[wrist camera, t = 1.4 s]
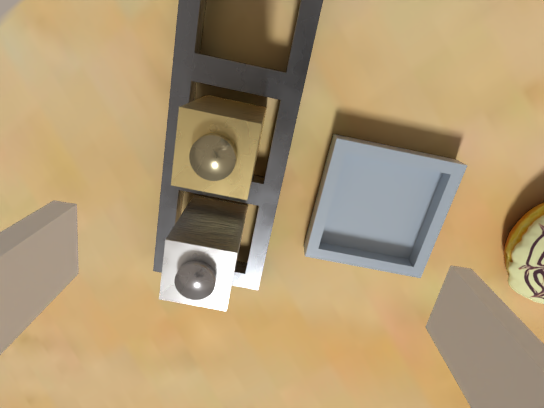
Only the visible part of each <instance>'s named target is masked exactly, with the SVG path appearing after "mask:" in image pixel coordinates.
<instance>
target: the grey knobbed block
mask: <svg viewBox="0 0 544 408" xmlns="http://www.w3.org/2000/svg"><path fill="white" fill-rule="evenodd" d="M247 207H248V205H243V204H238V203H233V202H228V201H223V200H217V199H212V198H207V197H202V196H197V195H194V196H193V198H192V199H191V201H190V202H189V204H188V205H187V207H186V208H185V210H184V212H183V213H182V215H181V216H180V218H179V219H178V221H177V222H176V224H175V225H174V227H173V229H172V230H171V232H170V233H169V235H168V236H167V238H166V239H165V248H164V257H163V267H162V276H161V286H160V295H159V299H160V300H166V301H172V302H177V303H183V304H189V305H194V306H200V307H206V308H211V309H217V310H222V311H226V310H227V306H228V301H229V296H230V292H231V287H232V282H233V277H234V273H235V268H236V263H237V259H238V254H239V249H240V244H241V239H242V233H243V228H244V223H245V218H246V212H247Z"/></svg>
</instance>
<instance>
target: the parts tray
mask: <svg viewBox="0 0 544 408" xmlns="http://www.w3.org/2000/svg"><path fill="white" fill-rule="evenodd" d="M466 167H467V165H465V164H464V163H462V162H460V161H458V160H456V159H452V158H447V157H442V156H437V155H432V154H428V153H423V152H418V151H413V150H408V149H404V148H399V147H394V146H389V145H385V144H380V143H375V142H370V141H365V140H361V139H356V138H351V137H346V136H342V135H337V134H333V137H332V141H331V144H330V148H329V152H328V156H327V160H326V163H325V167H324V171H323V175H322V178H321V182H320V186H319V190H318V193H317V197H316V201H315V205H314V209H313V212H312V216H311V220H310V224H309V227H308V231H307V235H306V239H305V243H304V253H305V256H306V257H311V258H317V259H322V260H327V261H333V262H338V263H343V264H349V265H354V266H359V267H364V268H370V269H375V270H380V271H386V272H391V273H396V274H401V275H407V276H412V277H417V278H421V276H422V273H423V271H424V268H425V266H426V264H427V261H428V259H429V256H430V254H431V252H432V249H433V247H434V244H435V242H436V240H437V237H438V235H439V232H440V230H441V228H442V225H443V223H444V220H445V218H446V215H447V213H448V211H449V208H450V206H451V203H452V201H453V199H454V196H455V194H456V191H457V189H458V187H459V184H460V182H461V179H462V177H463V175H464V172H465V170H466Z"/></svg>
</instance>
